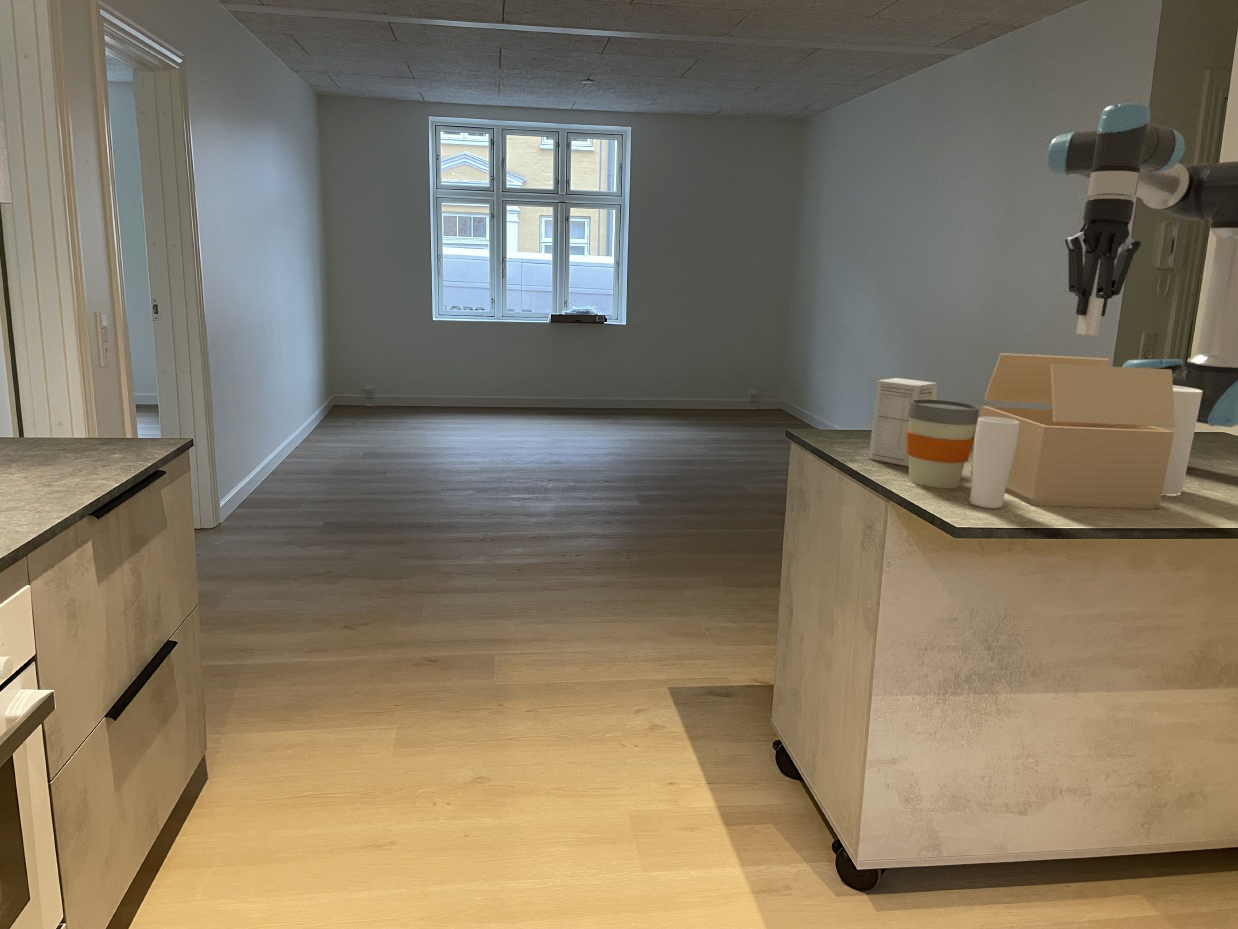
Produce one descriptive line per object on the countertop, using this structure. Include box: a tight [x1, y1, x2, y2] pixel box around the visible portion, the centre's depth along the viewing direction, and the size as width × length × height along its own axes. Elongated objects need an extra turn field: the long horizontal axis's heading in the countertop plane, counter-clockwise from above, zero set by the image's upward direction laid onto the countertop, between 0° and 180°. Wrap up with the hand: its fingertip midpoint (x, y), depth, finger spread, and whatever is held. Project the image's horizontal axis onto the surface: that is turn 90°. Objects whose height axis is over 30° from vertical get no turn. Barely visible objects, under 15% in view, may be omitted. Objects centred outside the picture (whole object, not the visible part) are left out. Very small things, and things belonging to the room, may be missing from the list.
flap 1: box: [983, 352, 1110, 405], centre depth 172 cm, size 22×10×1 cm
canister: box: [1153, 385, 1203, 495], centre depth 173 cm, size 14×14×20 cm
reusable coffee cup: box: [907, 399, 980, 489], centre depth 166 cm, size 13×13×15 cm
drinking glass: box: [969, 416, 1020, 510], centre depth 151 cm, size 7×7×15 cm
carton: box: [970, 405, 1174, 510], centre depth 165 cm, size 24×22×14 cm
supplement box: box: [868, 377, 938, 467], centre depth 185 cm, size 10×9×17 cm
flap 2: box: [1051, 364, 1175, 427], centre depth 152 cm, size 22×10×1 cm
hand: (1086, 334), depth 160 cm, fingers closed
